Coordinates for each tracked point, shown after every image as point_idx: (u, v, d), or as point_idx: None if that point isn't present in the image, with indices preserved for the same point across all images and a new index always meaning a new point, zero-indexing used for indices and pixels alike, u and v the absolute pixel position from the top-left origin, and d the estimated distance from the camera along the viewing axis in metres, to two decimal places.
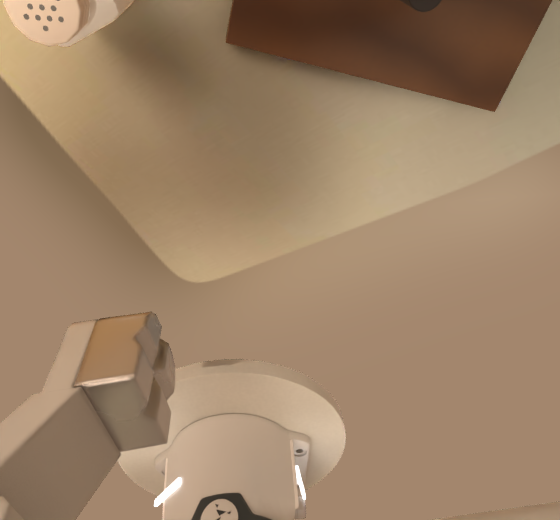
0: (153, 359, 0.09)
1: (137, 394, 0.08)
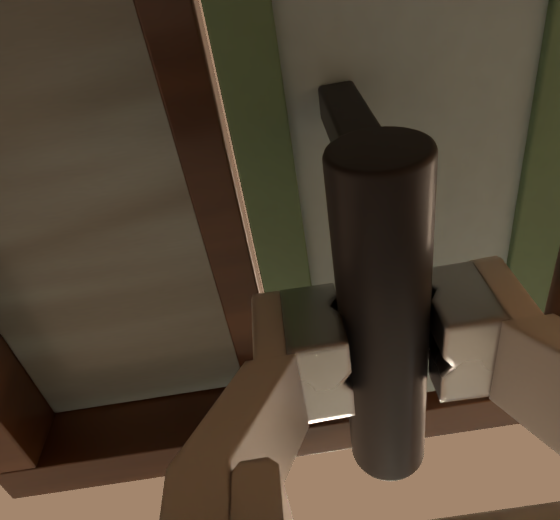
0: None
1: (343, 362, 0.08)
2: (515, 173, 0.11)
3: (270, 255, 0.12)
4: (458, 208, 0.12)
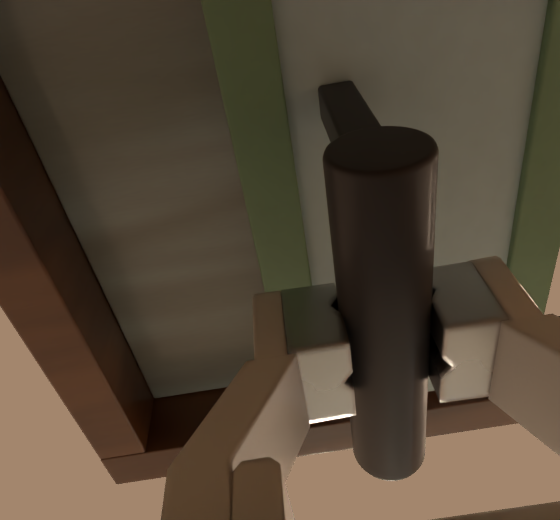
0: None
1: (344, 362, 0.08)
2: (515, 172, 0.11)
3: (270, 255, 0.12)
4: (458, 208, 0.12)
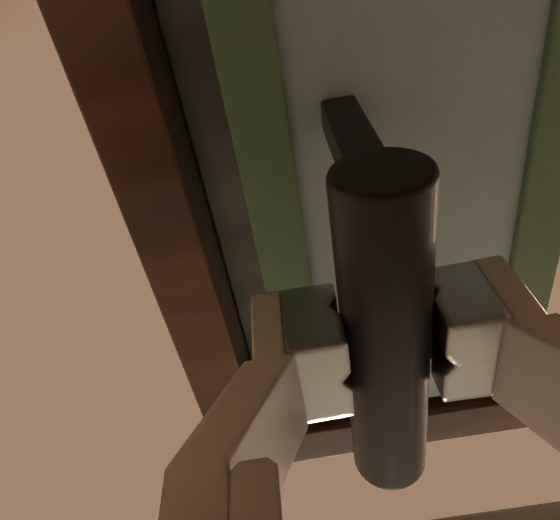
0: None
1: (343, 362, 0.08)
2: (516, 184, 0.11)
3: (273, 265, 0.12)
4: (459, 218, 0.12)
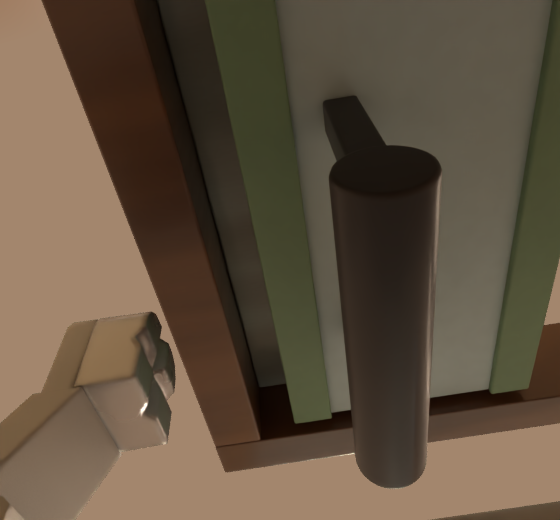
0: (153, 359, 0.09)
1: (137, 394, 0.08)
2: (516, 185, 0.11)
3: (274, 265, 0.12)
4: (460, 219, 0.12)
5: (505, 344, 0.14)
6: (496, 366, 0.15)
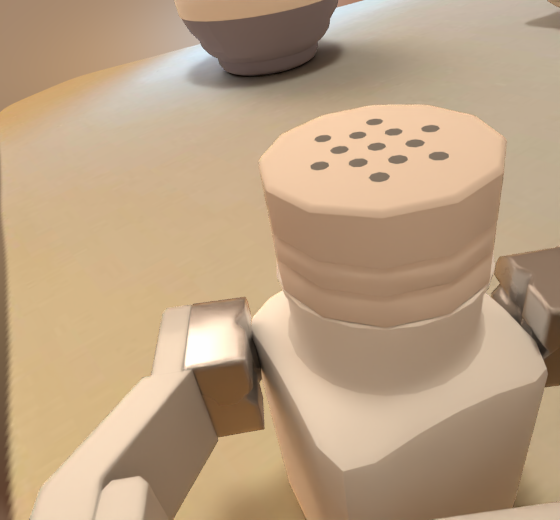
0: None
1: (243, 377, 0.08)
2: None
3: None
4: None
5: None
6: None
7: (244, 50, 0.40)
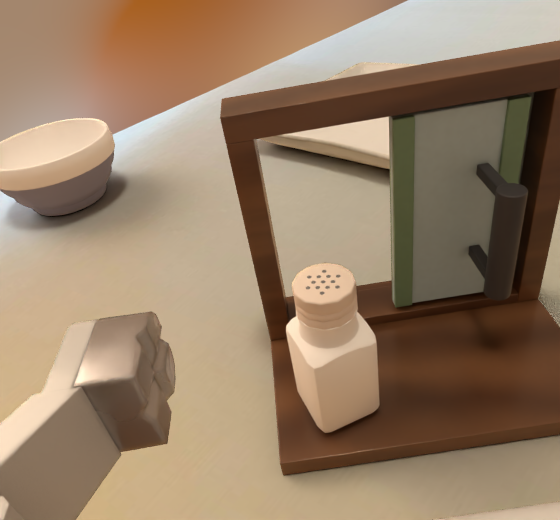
0: (153, 359, 0.09)
1: (137, 394, 0.08)
2: (414, 228, 0.31)
3: None
4: (434, 216, 0.30)
5: (411, 155, 0.28)
6: (414, 139, 0.27)
7: (49, 203, 0.55)
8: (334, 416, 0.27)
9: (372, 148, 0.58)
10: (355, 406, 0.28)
